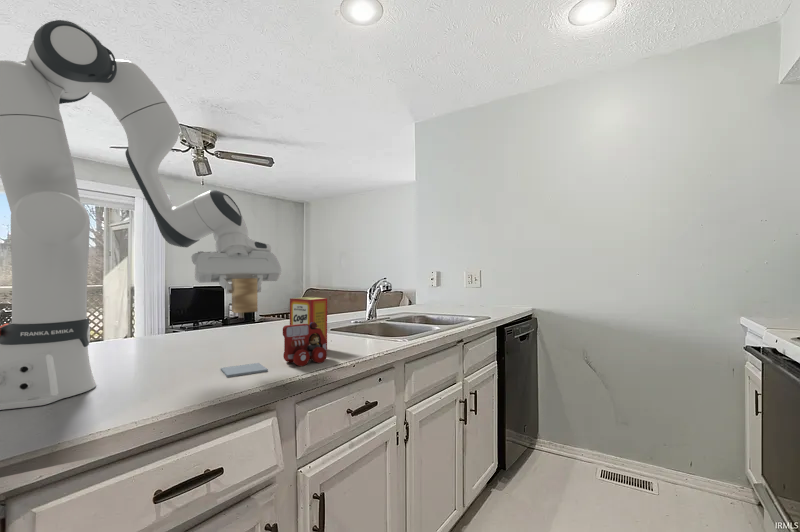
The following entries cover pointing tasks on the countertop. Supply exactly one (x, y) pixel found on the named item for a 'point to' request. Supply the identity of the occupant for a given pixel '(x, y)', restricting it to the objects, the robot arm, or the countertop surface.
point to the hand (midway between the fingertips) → (244, 291)
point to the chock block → (244, 295)
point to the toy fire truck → (304, 344)
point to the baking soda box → (309, 312)
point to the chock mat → (243, 369)
